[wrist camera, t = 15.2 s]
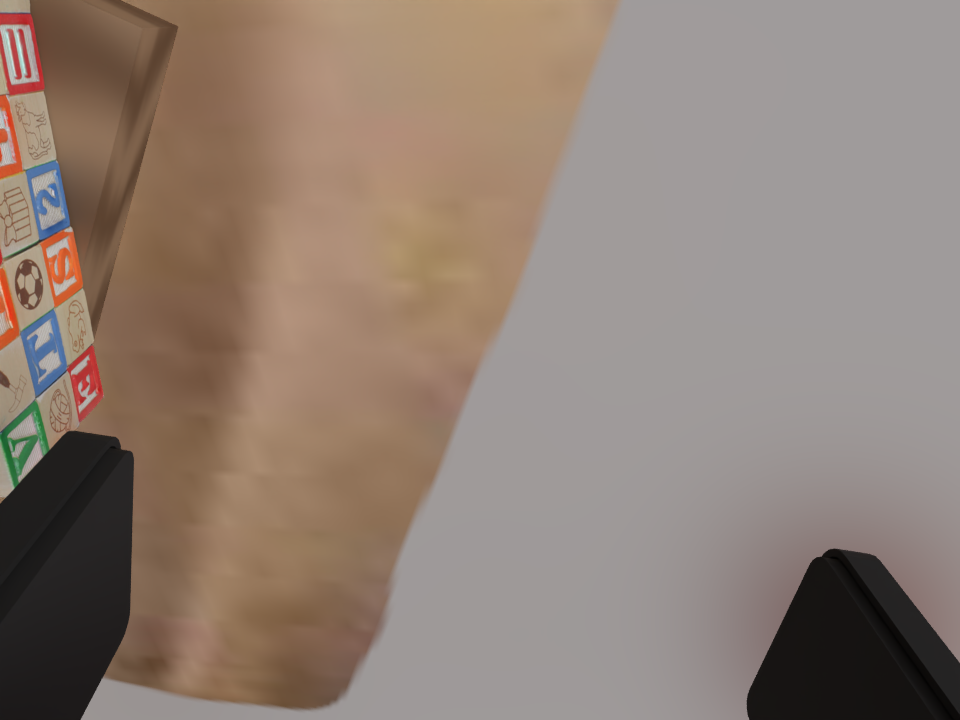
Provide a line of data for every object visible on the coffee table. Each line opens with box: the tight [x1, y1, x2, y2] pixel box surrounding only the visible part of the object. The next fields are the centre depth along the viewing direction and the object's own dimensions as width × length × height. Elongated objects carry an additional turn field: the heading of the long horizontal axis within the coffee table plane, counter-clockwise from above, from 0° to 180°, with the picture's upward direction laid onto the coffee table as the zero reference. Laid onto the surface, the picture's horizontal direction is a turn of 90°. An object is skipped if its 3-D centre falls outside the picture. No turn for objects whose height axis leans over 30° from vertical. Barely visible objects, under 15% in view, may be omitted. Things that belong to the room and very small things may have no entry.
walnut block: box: [29, 0, 178, 338], centre depth 37 cm, size 18×9×5 cm, turn 156°
